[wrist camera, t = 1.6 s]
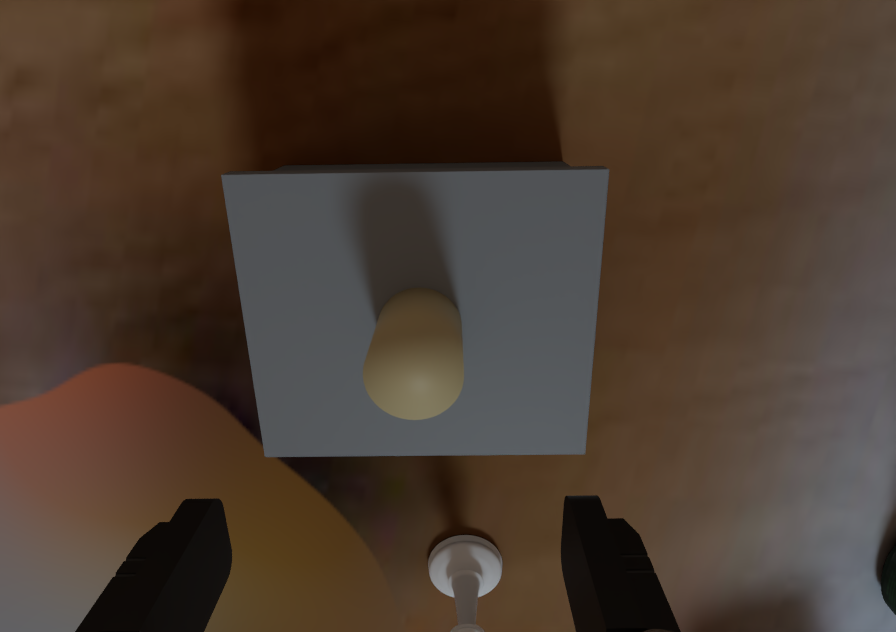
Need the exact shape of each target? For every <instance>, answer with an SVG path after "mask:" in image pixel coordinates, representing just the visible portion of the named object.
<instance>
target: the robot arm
mask: <svg viewBox="0 0 896 632" xmlns="http://www.w3.org/2000/svg"><path fill="white" fill-rule="evenodd" d="M231 563H232V549H231V543H230V538H229V533H228V528H227V523H226V518H225V512H224V507H223V504H222V502H221V500H220V499H186V500H184V501H183V502H182V503H181V505H180V506H179V508H178V509H177V511H176V512H175V514H174V516H173V517H172V519H171V520H170V522H159V523H158V524H157V525H156V526H155V527H153V528H152V529H151V530H150V531H148V532H147V533H146V534H145V535H143V536H142V537H141V538H140V539H139V540H138V541H137V543H136V544H135V546H134V547H133V549H132V550H131V552H130V553H129V554H128V556H127V558H126V561H124V562H123V564H122V565H121V566H120V568H119V569H118V570H117V572H116V576H115V577H113V578H112V579H111V581H110V582H109V583H108V585H107V586H106V588H105V589H104V591H103V593H102V594H101V595H100V596H99V598H98V599H97V601H96V603H95V604H94V605H93V607H92V608H91V610H90V611H89V613H88V614H87V615H86V617H85V618H84V620H83V621H82V623H81V624H80V626H79V627H78V628H77V630H76V631H75V632H204V630H205V628H206V626H207V623H208V622H209V619H210V617H211V615H212V613H213V610H214V608H215V606H216V604H217V601H218V599H219V597H220V595H221V593H222V591H223V588H224V586H225V584H226V582H227V579H228V577H229V574H230V570H231ZM561 564H562V572H563V577H564V582H565V586H566V590H567V595H568V599H569V603H570V607H571V612H572V616H573V620H574V625H575V629H576V632H681V631H680V629H679V627H678V624H677V622H676V620H675V617H674V615H673V613H672V610H671V608H670V606H669V603H668V601H667V599H666V596H665V594H664V591H663V589H662V587H661V584H660V582H659V580H658V577H657V575H656V573H654V568H653V566H652V563H651V561H650V559H649V557H648V556H647V551H646V549H645V547H644V544H643V542H642V540H641V537H640V535H639V534H638V533H637V532H636V531H635V530H634V529H633V528H632V527H631V526H630V525H629V524H628V523H627V522H626V521H625V520H624V519H623V518H618V519H607V516H606V514H605V511H604V508H603V506H602V503H601V500H600V498H599V497H598V496H566V497H565V500H564V511H563V525H562V539H561Z"/></svg>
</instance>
